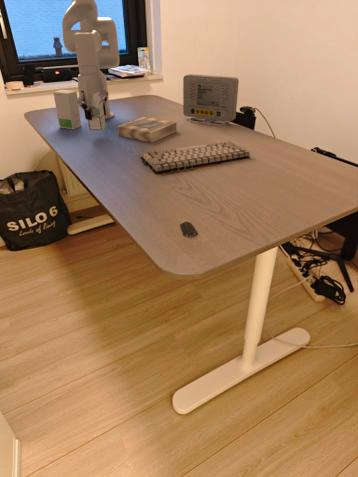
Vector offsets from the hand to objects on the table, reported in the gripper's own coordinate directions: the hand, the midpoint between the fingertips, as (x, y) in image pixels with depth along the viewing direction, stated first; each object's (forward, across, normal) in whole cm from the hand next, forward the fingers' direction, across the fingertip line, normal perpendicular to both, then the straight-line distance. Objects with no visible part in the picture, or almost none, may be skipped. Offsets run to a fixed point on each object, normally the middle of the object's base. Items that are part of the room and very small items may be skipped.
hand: (96, 116), depth 138 cm
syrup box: (+5, 0, 0) cm, 5 cm away
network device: (+9, -46, +28) cm, 54 cm away
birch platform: (+9, -15, +15) cm, 23 cm away
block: (+7, +42, +72) cm, 83 cm away
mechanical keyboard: (+9, -1, +48) cm, 49 cm away
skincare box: (+9, -4, -22) cm, 25 cm away
